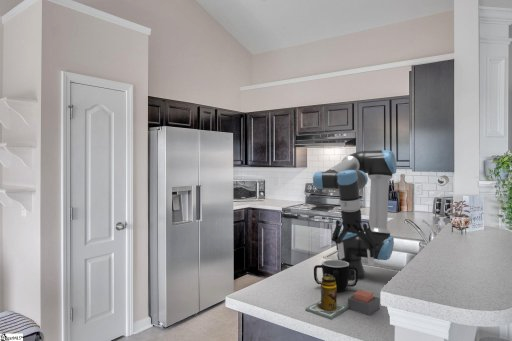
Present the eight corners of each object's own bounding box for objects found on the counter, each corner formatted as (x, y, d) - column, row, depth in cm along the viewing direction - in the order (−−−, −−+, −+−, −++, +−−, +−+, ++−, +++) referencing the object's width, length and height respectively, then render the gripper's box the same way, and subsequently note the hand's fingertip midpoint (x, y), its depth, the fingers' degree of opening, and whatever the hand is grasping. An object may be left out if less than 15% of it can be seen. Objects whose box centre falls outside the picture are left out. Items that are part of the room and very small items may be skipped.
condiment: (338, 312, 131) (338, 281, 130) (316, 311, 132) (315, 280, 131) (336, 304, 138) (336, 274, 138) (315, 303, 139) (314, 274, 139)
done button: (360, 297, 140) (360, 289, 140) (373, 300, 136) (373, 293, 136) (354, 301, 136) (354, 293, 136) (367, 304, 132) (367, 297, 132)
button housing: (358, 301, 143) (358, 292, 143) (379, 308, 136) (379, 298, 136) (347, 308, 136) (347, 298, 136) (369, 315, 130) (369, 304, 130)
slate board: (323, 301, 144) (323, 299, 144) (348, 309, 136) (348, 306, 136) (305, 310, 135) (305, 308, 135) (331, 319, 127) (331, 317, 127)
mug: (310, 286, 161) (310, 261, 161) (338, 281, 168) (338, 256, 168) (332, 298, 146) (332, 270, 146) (361, 292, 153) (361, 265, 153)
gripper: (319, 209, 142) (325, 258, 144) (374, 214, 123) (379, 271, 125) (330, 205, 147) (336, 252, 149) (385, 209, 128) (390, 264, 130)
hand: (356, 261), depth 137 cm, fingers open, 13 cm apart
